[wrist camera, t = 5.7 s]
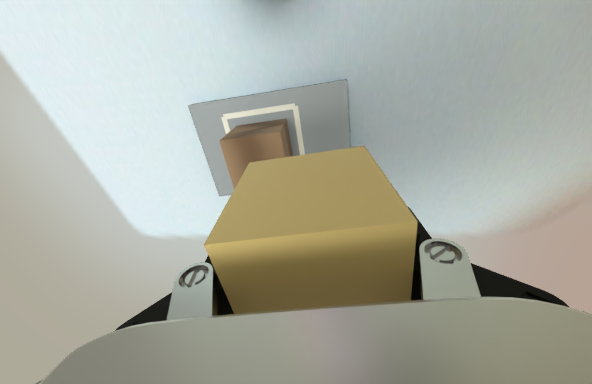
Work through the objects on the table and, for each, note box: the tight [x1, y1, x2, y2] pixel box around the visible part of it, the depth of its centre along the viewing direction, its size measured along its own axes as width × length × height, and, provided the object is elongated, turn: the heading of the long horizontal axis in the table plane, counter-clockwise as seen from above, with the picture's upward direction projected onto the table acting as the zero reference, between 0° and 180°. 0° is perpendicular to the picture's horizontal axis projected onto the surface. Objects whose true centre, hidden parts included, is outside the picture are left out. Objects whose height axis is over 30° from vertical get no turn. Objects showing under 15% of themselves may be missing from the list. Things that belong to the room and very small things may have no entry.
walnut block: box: [219, 118, 293, 189], centre depth 27 cm, size 6×6×6 cm
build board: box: [188, 79, 350, 196], centre depth 30 cm, size 18×12×1 cm, turn 99°
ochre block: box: [204, 146, 418, 314], centre depth 10 cm, size 6×6×6 cm
